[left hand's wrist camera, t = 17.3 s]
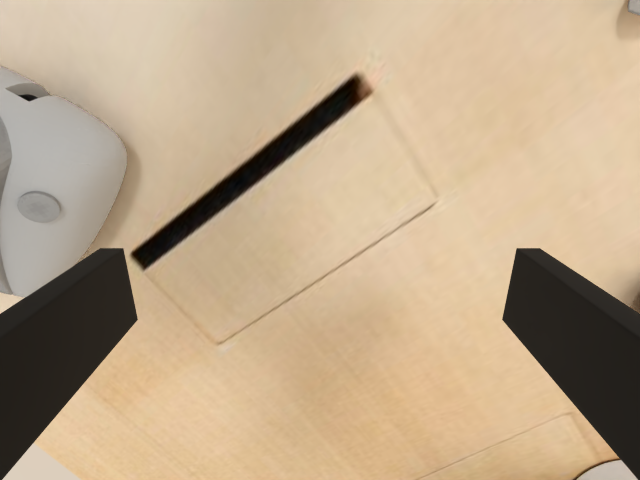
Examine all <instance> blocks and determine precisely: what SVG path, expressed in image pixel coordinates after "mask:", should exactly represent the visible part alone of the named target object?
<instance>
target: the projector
mask: <svg viewBox="0 0 640 480" xmlns="http://www.w3.org/2000/svg"><path fill="white" fill-rule="evenodd" d="M126 166H127V151H126V148H125V146H124V144H123V142H122V140H121V139H120V138H119V136H118V135H117V134H116V133H115V132H114V131H113V130H112V129H111V128H110V127H109V126H107V125H106V124H105V123H103V122H102V121H101V120H99V119H98V118H96V117H95V116H93V115H91V114H90V113H88V112H87V111H85V110H83V109H82V108H80V107H78V106H77V105H75V104H73V103H71V102H70V101H68V100H66V99H64V98H62V97H59V96H49V94H48V92H47V91H46V89H45V88H44V87H42V86H41V85H39V84H37V83H35V82H33V81H31V80H30V79H28V78H26V77H24V76H22V75H20V74H18V73H16V72H14V71H12V70H10V69H8V68H5V67H3V66H0V292H1V293H5V294H10V295H15V296H20V297H27V296H28V295H30V294H32V293H33V292H35V291H36V290H38V289H39V288H41V287H42V286H44V285H45V284H47V283H48V282H50V281H51V280H53V279H54V278H56V277H57V276H59V275H61V274H62V273H64V272H65V271H67V270H68V269H70V268H71V267H73V266H74V265H75V264H76V263H77V262H78V261H79V259H80V258H81V257H82V256H83V254H84V253H85V252H86V251H87V249H88V248H89V246H90V245H91V243H92V242H93V240H94V239H95V238H96V236H97V234H98V233H99V231H100V229H101V227H102V226H103V224H104V222H105V220H106V218H107V216H108V214H109V212H110V210H111V208H112V206H113V204H114V202H115V199H116V197H117V195H118V192H119V190H120V187H121V184H122V182H123V178H124V175H125V171H126Z"/></svg>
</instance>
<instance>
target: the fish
mask: <svg viewBox="0 0 640 480" xmlns="http://www.w3.org/2000/svg"><path fill="white" fill-rule="evenodd" d="M628 12H631V13H634V14H636V15H640V0H629V2H628Z"/></svg>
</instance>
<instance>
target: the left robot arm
mask: <svg viewBox="0 0 640 480" xmlns="http://www.w3.org/2000/svg"><path fill="white" fill-rule="evenodd" d="M137 320H138V319H137V314H136V309H135V304H134V299H133V294H132V289H131V284H130V279H129V274H128V269H127V265H126V260H125V255H124V250H123V248H100V249H99V250H97V251H96V252H94V253H93V254H91V255H90V256H88V257H86V258H85V259H83V260H82V261H80V262H79V263H77V264H76V265H74V266H73V267H71V268H70V269H68V270H67V271H65V272H64V273H62V274H61V275H59V276H57V277H56V278H54V279H53V280H51V281H50V282H48V283H47V284H45V285H44V286H42V287H41V288H39V289H38V290H36V291H35V292H33V293H32V294H30V295H28V296H27V297H25V298H24V299H22V300H21V301H19V302H18V303H16V304H15V305H13V306H12V307H10V308H9V309H7V310H6V311H4V312H3V313H1V314H0V480H2V479H3V478H4V477H5V476H6V474H7V473H8V472H9V471H10V470H11V468H12V467H13V466H14V465H15V464H16V463H17V461H18V460H19V459H20V458H21V457H22V455H23V454H24V453H25V452H26V451H27V450H28V448H29V447H30V446H31V445H32V444H33V443H34V441H35V440H36V439H37V438H38V437H39V435H40V434H41V433H42V432H43V431H44V430H45V428H46V427H47V426H48V425H49V424H50V422H51V421H52V420H53V419H54V418H55V417H56V415H57V414H58V413H59V412H60V411H61V409H62V408H63V407H64V406H65V405H66V404H67V402H68V401H69V400H70V399H71V398H72V397H73V395H74V394H75V393H76V392H77V391H78V389H79V388H80V387H81V386H82V385H83V384H84V382H85V381H86V380H87V379H88V378H89V376H90V375H91V374H92V373H93V372H94V371H95V369H96V368H97V367H98V366H99V365H100V363H101V362H102V361H103V360H104V359H105V358H106V356H107V355H108V354H109V353H110V352H111V350H112V349H113V348H114V347H115V346H116V345H117V343H118V342H119V341H120V340H121V339H122V337H123V336H124V335H125V334H126V333H127V332H128V330H129V329H130V328H131V327H132V326H133V325H134V323H135V322H136V321H137ZM502 320H503V321H504V322H505V323H506V325H507V326H508V327H509V328H510V329H511V330H512V332H513V333H514V334H515V335H516V336H517V337H518V339H519V340H520V341H521V342H522V343H523V345H524V346H525V347H526V348H527V349H528V350H529V352H530V353H531V354H532V355H533V356H534V358H535V359H536V360H537V361H538V362H539V363H540V365H541V366H542V367H543V368H544V369H545V371H546V372H547V373H548V374H549V375H550V376H551V378H552V379H553V380H554V381H555V382H556V384H557V385H558V386H559V387H560V388H561V389H562V391H563V392H564V393H565V394H566V395H567V397H568V398H569V399H570V400H571V401H572V402H573V404H574V405H575V406H576V407H577V408H578V409H579V411H580V412H581V413H582V414H583V415H584V417H585V418H586V419H587V420H588V421H589V422H590V424H591V425H592V426H593V427H594V428H595V430H596V431H597V432H598V433H599V434H600V435H601V437H602V438H603V439H604V440H605V441H606V443H607V444H608V445H609V446H610V447H611V448H612V450H613V451H614V452H615V453H616V454H617V456H618V457H619V458H620V459H621V460H622V461H623V463H624V464H625V465H626V466H627V467H628V469H629V470H630V471H631V472H632V473H633V474H634V476H635V477H636V478H637V479H638V480H640V314H639V313H637V312H636V311H634V310H633V309H631V308H630V307H628V306H627V305H625V304H624V303H622V302H621V301H619V300H618V299H616V298H615V297H613V296H612V295H610V294H608V293H607V292H605V291H604V290H602V289H601V288H599V287H598V286H596V285H595V284H593V283H592V282H590V281H589V280H587V279H586V278H584V277H583V276H581V275H579V274H578V273H576V272H575V271H573V270H572V269H570V268H569V267H567V266H566V265H564V264H563V263H561V262H560V261H558V260H557V259H555V258H554V257H552V256H550V255H549V254H547V253H546V252H544V251H543V250H541V249H540V248H517V250H516V255H515V260H514V265H513V269H512V274H511V279H510V284H509V289H508V294H507V299H506V304H505V309H504V314H503V319H502Z"/></svg>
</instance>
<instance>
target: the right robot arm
mask: <svg viewBox="0 0 640 480" xmlns="http://www.w3.org/2000/svg"><path fill="white" fill-rule="evenodd" d="M576 480H638V479H637V478H636V477H635V476H634V474H633V473H632V472H631V471H630V470H629V469H628V467H627V466H626V465H625V464H624V463H623V461H622V460H616V461H611V462H608V463H604V464H601V465H599V466H596V467H594V468H592V469H590V470H589V471H587V472H585V473H584V474H583V475H581V476H580V477H579V478H578V479H576Z"/></svg>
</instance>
